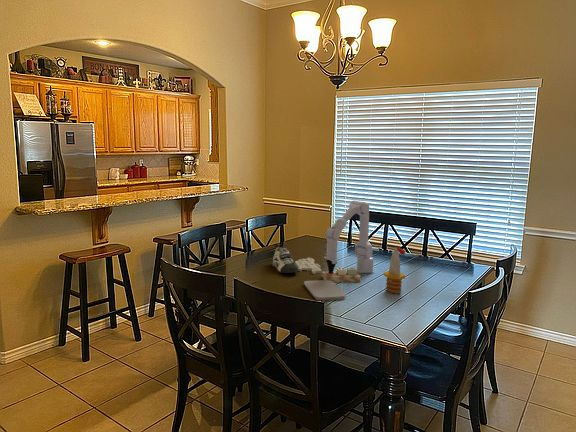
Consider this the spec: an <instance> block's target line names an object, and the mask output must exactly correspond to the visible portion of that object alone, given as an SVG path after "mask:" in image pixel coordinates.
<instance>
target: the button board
mask: <svg viewBox="0 0 576 432" xmlns="http://www.w3.org/2000/svg"><path fill="white" fill-rule="evenodd" d="M326 272H327V271H322V273H321V277H322V280H330V281H333V282H334V283H349V282H350V283H353V282H354V283H355V282H356V283H357V282H358V283H359V282H361V275H360V273H358V272H357V271H356V275H348V274H347V270H346V275H338V274H337V270H334V271H333V272H334V273H335V275H327V274H326Z"/></svg>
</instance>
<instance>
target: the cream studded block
mask: <svg viewBox="0 0 576 432" xmlns="http://www.w3.org/2000/svg"><path fill="white" fill-rule="evenodd" d="M336 271H337V274H338V275H346V271H347V268H345V267H336Z"/></svg>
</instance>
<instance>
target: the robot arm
mask: <svg viewBox="0 0 576 432" xmlns="http://www.w3.org/2000/svg"><path fill="white" fill-rule="evenodd" d="M354 215H359V233H358V235H359V236H358V241H357V243H355V247H354V254H355V255H356V257H357V258H356V268H355V269H356V272H357V273H358V274H373V273H374V271H373V270H374V257H372V256H373V250H374V249H373V245H372V244H371V243H370V242H369V233H370V232H369V229H370V204H369V203H367V202H366V201H359V200H355V199H354V200H352V201H351V202H350V204H348V208H347V210H346V212H345V213H344V215H343V216H342V217H341V218H338V219H337V220H336V221H335V223H333V225H332V226H331V227H329V228H327V230H325V234H324V235H325V237H326V238H325V239H326V241H327V243H326V256H323V257H324V259H326V260H325V262H326V264H327V269H328V271H327V272H329V273H333V271H335V267H336V265H337V263H338V262H337V260H338V257H337V256H338V240H339V238H340V237H341V234H342V232H343V230H344V229H345V228H346V226H347V222H348V221H349V220H350V219H351V218H352V217H353V216H354Z"/></svg>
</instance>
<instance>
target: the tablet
mask: <svg viewBox="0 0 576 432" xmlns="http://www.w3.org/2000/svg"><path fill="white" fill-rule="evenodd" d="M303 285H304V287H305V288H306V289H307V291H308V292H309V293H310V294H311V295H312V297H313V298H314V299H315V300H317V301H321V300H322V301H335V300H339V301H340V300H344V299H345V297H346V296H347V294H346V293H345V292H344V290H342V289H341V288H340V286H338V285H337V284H336V282H333V281H330V280H324V279H322V280H320V279H319V280H318V279H317V280H305V281H303Z"/></svg>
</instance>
